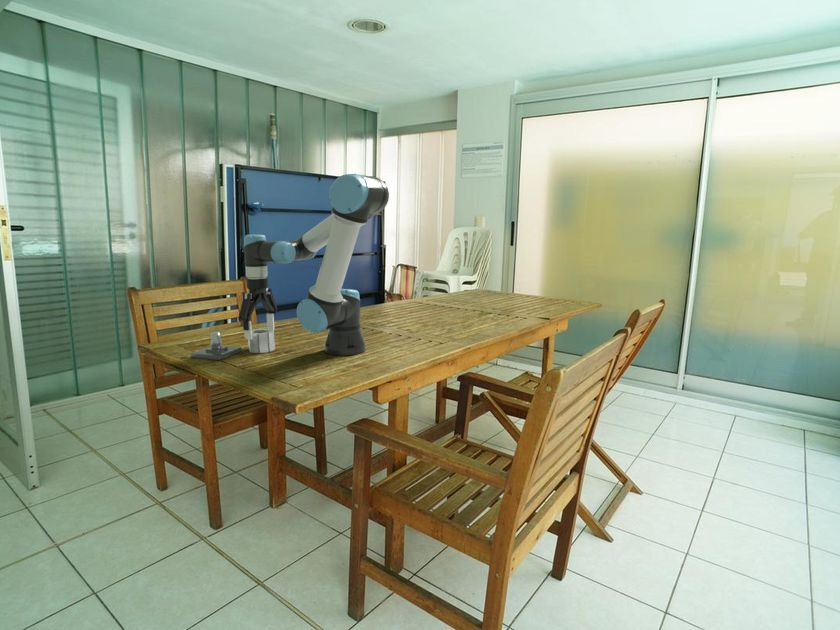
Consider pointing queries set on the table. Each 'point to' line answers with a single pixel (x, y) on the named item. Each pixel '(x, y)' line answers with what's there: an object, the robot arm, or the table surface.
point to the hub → (262, 341)
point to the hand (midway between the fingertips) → (260, 334)
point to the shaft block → (216, 349)
